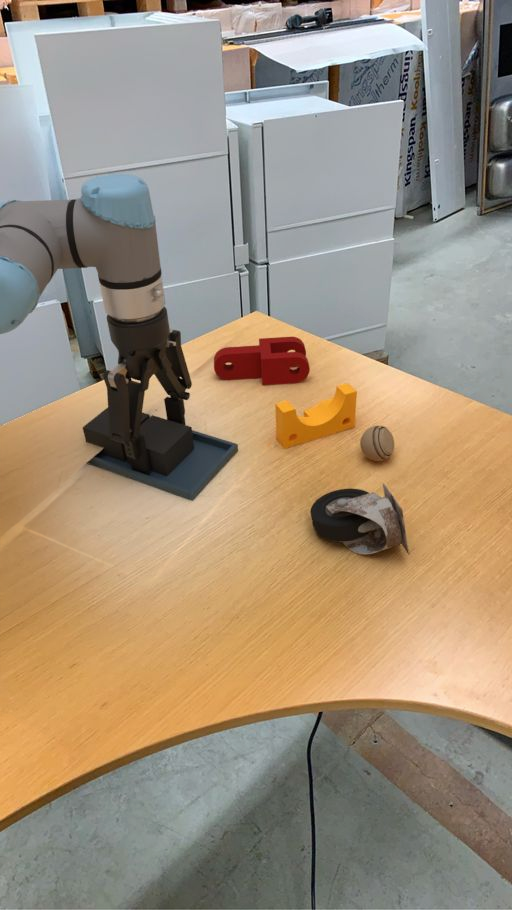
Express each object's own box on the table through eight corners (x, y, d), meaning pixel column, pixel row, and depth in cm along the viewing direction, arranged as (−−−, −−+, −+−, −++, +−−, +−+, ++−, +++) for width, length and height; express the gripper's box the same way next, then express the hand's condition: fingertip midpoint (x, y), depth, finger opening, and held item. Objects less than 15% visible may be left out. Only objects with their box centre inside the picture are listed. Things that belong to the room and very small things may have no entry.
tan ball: (369, 471, 91) (371, 443, 88) (353, 451, 95) (355, 423, 92) (400, 463, 92) (404, 434, 89) (384, 443, 96) (387, 415, 93)
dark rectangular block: (127, 462, 94) (122, 440, 92) (155, 436, 99) (152, 414, 97) (167, 476, 92) (163, 454, 89) (194, 449, 96) (191, 426, 94)
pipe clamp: (340, 412, 103) (341, 377, 99) (354, 427, 100) (356, 391, 96) (271, 433, 99) (270, 397, 95) (283, 448, 96) (283, 412, 92)
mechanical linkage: (304, 361, 116) (304, 335, 113) (309, 382, 110) (309, 356, 107) (215, 366, 116) (212, 341, 113) (215, 388, 110) (212, 362, 107)
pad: (87, 449, 97) (82, 427, 95) (117, 424, 102) (112, 403, 100) (124, 462, 94) (120, 440, 92) (153, 436, 99) (149, 414, 97)
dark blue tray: (72, 460, 96) (70, 451, 95) (123, 417, 104) (122, 408, 103) (192, 503, 88) (191, 494, 87) (238, 453, 96) (237, 443, 95)
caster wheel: (310, 527, 87) (382, 507, 87) (332, 578, 76) (413, 554, 77) (300, 485, 84) (374, 463, 84) (322, 532, 73) (406, 507, 74)
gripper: (104, 355, 72) (136, 505, 86) (207, 282, 87) (220, 421, 101) (54, 341, 75) (92, 489, 89) (161, 273, 90) (180, 409, 104)
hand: (160, 453), depth 95 cm, fingers open, 8 cm apart
